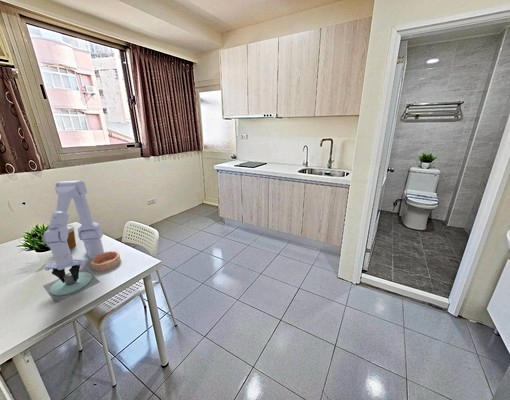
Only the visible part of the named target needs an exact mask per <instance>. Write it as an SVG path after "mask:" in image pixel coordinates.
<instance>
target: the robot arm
mask: <svg viewBox="0 0 510 400" xmlns="http://www.w3.org/2000/svg"><path fill="white" fill-rule="evenodd" d="M54 190H55V192H56V194H57V203H56V209H55V211H54V212H52V214H51V218H50V220H49V224H48V227H47V228H48V229H47V230H45V231H44V232H43V235H42V241H43V242H44V243H45V244H46V245H47V247H48V248H49V249H50V251H51V254H52V257H53V260H54V262H53V263H47V264H45V266H43V267H44V270H45V272H46V271H49V270H52V271H51V274H52V275H54V277H57V278H58V279H60V280H61V281H62V282H63V283H65V280H64V278H63V277H64V275H66V274H67V273H66V268H67V269H68V268H69V269H68V271H69V273H71V274H72V276H73V278H74V281H77V280H78V279H79V270H81V269H80V268H81V267H82V266H85V265H86V263H87V261H86V259H73V256H72V253H71V248H70V249H69V246H68V242H67V238H68V228H67V225H68V223H69V217H70V215H69V214H68V210H69V207H70V205H71V202H72V199H73V201H74V204H75V205H74V206H75V207H76V208H75V209H76V212H77V214H78V218H79V221H80V226H78V228H77V237H78V239H79V240H80V241H82V243H83V245H84V249H85V252H84V255H86V256H87V257H89V259H92V258H94V257H95V256H97V255H99V254H101V253H104V252H108V251H106V249H104V245H103V242H102V239H101V238H103V236H104V230H103V228H102V226H101V224H100V223H98V222H95V221H93V218H92V215H91V211H90V207H89V204H88V200H87V197H86V195H87V194H88V190H87V186H86V184H85V182H84V181H83V180H81V179H77V180H67V181H61V180H59V181H57V182H56V183H55V185H54Z"/></svg>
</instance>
